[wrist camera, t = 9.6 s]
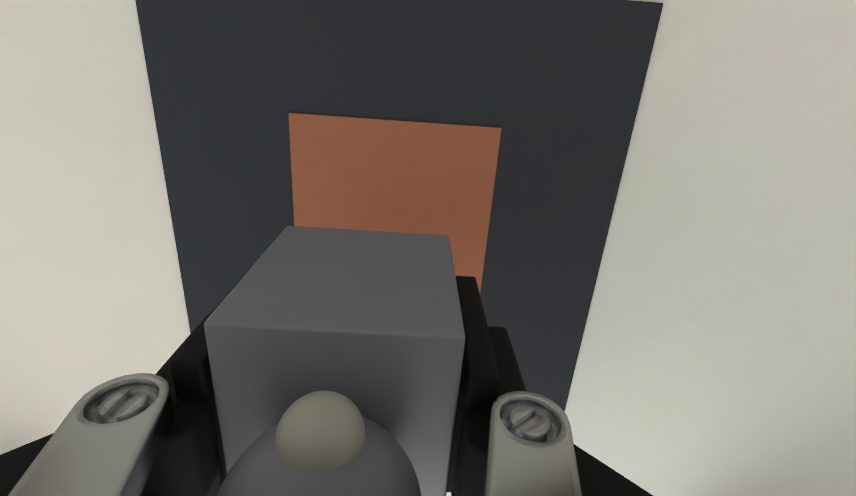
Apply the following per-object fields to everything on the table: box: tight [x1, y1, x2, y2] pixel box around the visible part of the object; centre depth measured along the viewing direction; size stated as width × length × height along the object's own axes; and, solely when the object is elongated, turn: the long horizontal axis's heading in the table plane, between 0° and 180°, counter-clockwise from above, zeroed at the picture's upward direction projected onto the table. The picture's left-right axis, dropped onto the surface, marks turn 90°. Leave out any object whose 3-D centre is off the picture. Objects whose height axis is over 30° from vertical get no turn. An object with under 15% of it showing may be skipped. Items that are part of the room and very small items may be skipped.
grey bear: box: [204, 226, 465, 496], centre depth 8 cm, size 4×5×7 cm
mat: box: [136, 0, 663, 412], centre depth 18 cm, size 18×18×1 cm
